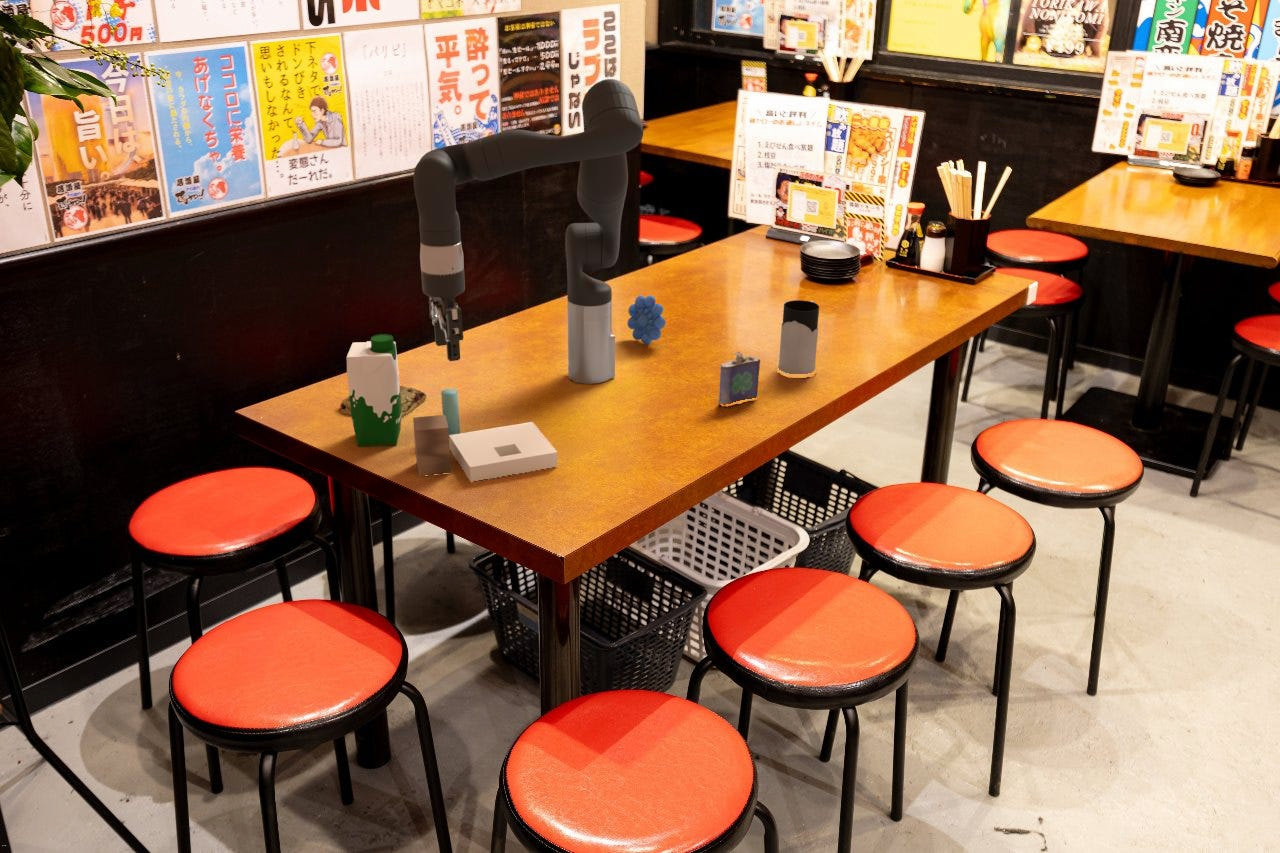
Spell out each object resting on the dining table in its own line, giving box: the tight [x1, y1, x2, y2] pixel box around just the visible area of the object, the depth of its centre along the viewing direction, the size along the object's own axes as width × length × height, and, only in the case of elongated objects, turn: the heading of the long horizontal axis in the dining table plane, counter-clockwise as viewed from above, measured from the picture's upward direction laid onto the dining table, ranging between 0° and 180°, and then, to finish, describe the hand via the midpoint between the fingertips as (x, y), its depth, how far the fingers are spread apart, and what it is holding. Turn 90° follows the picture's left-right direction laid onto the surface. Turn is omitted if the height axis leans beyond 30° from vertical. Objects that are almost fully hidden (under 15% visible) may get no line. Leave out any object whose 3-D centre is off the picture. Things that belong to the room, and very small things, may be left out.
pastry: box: [339, 385, 427, 419], centre depth 225 cm, size 17×17×3 cm
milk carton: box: [346, 333, 402, 447], centre depth 207 cm, size 9×9×20 cm
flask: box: [718, 351, 761, 405], centre depth 227 cm, size 9×3×11 cm, turn 121°
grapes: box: [627, 294, 666, 345], centre depth 257 cm, size 12×7×12 cm, turn 44°
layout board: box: [449, 421, 559, 482], centre depth 203 cm, size 16×14×3 cm
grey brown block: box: [412, 414, 452, 477], centre depth 198 cm, size 6×6×9 cm
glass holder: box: [777, 299, 820, 374], centre depth 244 cm, size 9×14×15 cm, turn 155°
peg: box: [440, 388, 461, 435], centre depth 211 cm, size 3×3×9 cm
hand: (447, 352), depth 205 cm, fingers open, 8 cm apart
